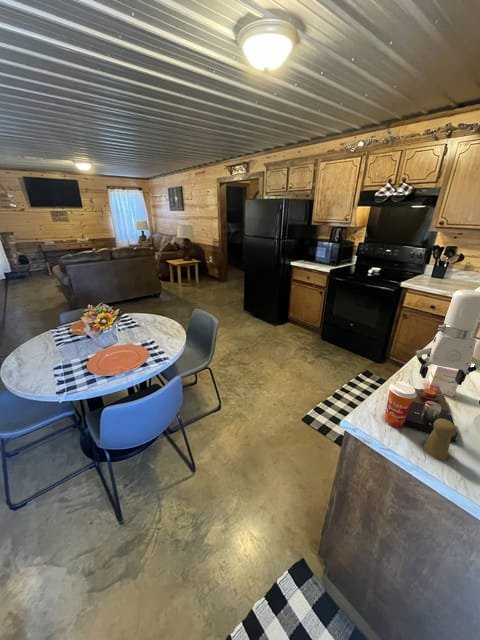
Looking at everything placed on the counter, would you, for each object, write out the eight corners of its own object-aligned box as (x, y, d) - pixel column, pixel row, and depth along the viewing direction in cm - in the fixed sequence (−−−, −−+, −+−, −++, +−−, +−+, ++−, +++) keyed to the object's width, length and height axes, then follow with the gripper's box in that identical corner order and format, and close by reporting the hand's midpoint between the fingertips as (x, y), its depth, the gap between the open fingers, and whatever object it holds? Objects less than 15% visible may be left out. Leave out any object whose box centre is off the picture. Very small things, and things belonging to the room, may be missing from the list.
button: (433, 394, 99) (434, 390, 98) (434, 399, 96) (436, 395, 96) (422, 391, 101) (423, 387, 100) (423, 396, 98) (424, 392, 97)
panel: (448, 421, 91) (451, 414, 89) (454, 442, 82) (458, 434, 81) (402, 408, 97) (404, 401, 95) (403, 426, 88) (406, 418, 87)
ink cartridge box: (428, 391, 107) (439, 359, 101) (426, 384, 111) (436, 353, 105) (454, 397, 103) (466, 364, 98) (450, 390, 108) (462, 358, 102)
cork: (423, 453, 78) (434, 424, 74) (423, 439, 83) (433, 412, 79) (448, 463, 75) (460, 434, 71) (446, 448, 80) (458, 420, 76)
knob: (436, 415, 89) (440, 402, 87) (437, 423, 86) (442, 410, 84) (420, 410, 91) (425, 398, 89) (422, 418, 88) (426, 406, 86)
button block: (442, 400, 101) (445, 391, 100) (447, 416, 93) (450, 407, 92) (406, 390, 106) (409, 382, 105) (408, 405, 98) (411, 396, 97)
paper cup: (377, 419, 91) (386, 386, 86) (386, 410, 96) (395, 377, 90) (401, 433, 85) (412, 398, 80) (410, 422, 90) (421, 388, 85)
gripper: (427, 331, 78) (411, 379, 84) (499, 341, 72) (477, 392, 79) (420, 322, 84) (407, 368, 91) (487, 331, 79) (467, 378, 85)
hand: (439, 379), depth 85 cm, fingers open, 9 cm apart
